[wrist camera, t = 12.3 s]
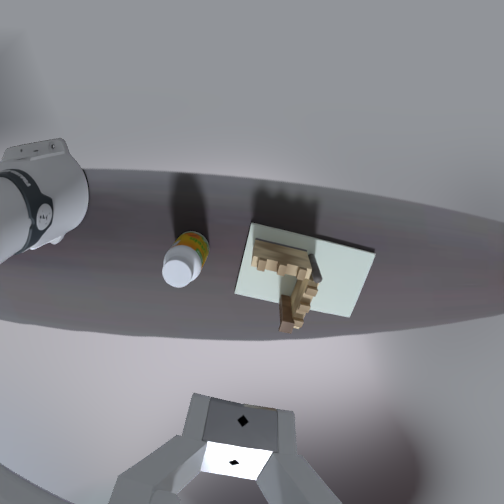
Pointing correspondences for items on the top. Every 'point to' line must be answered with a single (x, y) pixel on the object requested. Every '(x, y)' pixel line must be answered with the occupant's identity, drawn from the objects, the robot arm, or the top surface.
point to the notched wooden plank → (302, 299)
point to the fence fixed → (285, 261)
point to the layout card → (329, 262)
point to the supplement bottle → (185, 259)
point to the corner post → (285, 314)
